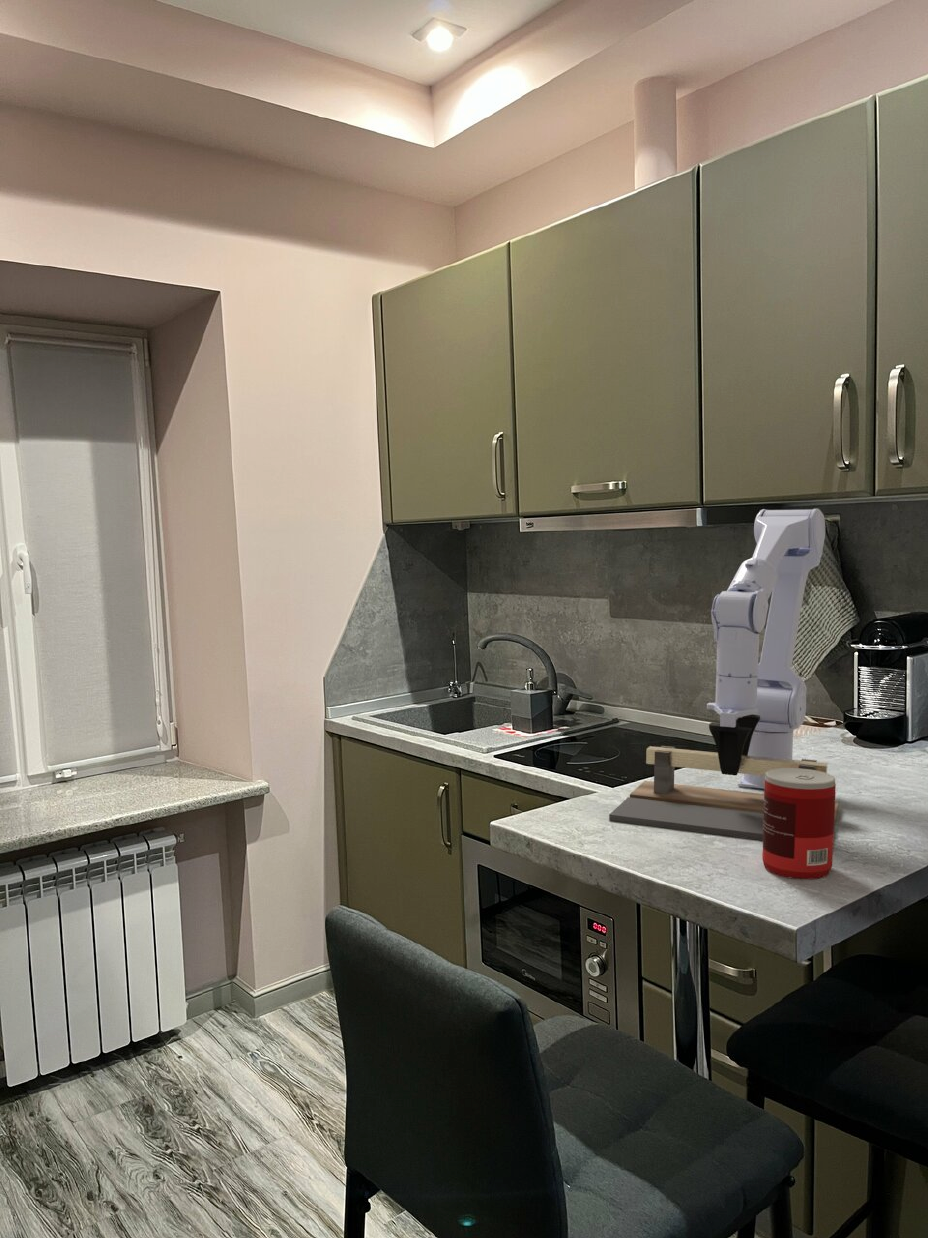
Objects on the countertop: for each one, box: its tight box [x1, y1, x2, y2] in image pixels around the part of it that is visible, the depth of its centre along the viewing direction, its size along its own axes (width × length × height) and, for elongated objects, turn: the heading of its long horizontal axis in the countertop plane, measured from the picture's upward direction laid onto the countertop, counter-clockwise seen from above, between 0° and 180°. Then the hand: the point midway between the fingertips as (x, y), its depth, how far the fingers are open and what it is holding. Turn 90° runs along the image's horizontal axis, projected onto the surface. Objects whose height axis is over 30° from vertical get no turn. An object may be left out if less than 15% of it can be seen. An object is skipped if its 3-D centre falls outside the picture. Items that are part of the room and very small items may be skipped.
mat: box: [608, 796, 764, 841], centre depth 129 cm, size 10×28×1 cm, turn 66°
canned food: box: [761, 768, 837, 880], centre depth 110 cm, size 8×8×11 cm
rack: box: [629, 745, 840, 827], centre depth 138 cm, size 9×28×7 cm, turn 66°
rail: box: [645, 745, 829, 776], centre depth 138 cm, size 2×25×2 cm, turn 66°
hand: (733, 769), depth 138 cm, fingers open, 7 cm apart
